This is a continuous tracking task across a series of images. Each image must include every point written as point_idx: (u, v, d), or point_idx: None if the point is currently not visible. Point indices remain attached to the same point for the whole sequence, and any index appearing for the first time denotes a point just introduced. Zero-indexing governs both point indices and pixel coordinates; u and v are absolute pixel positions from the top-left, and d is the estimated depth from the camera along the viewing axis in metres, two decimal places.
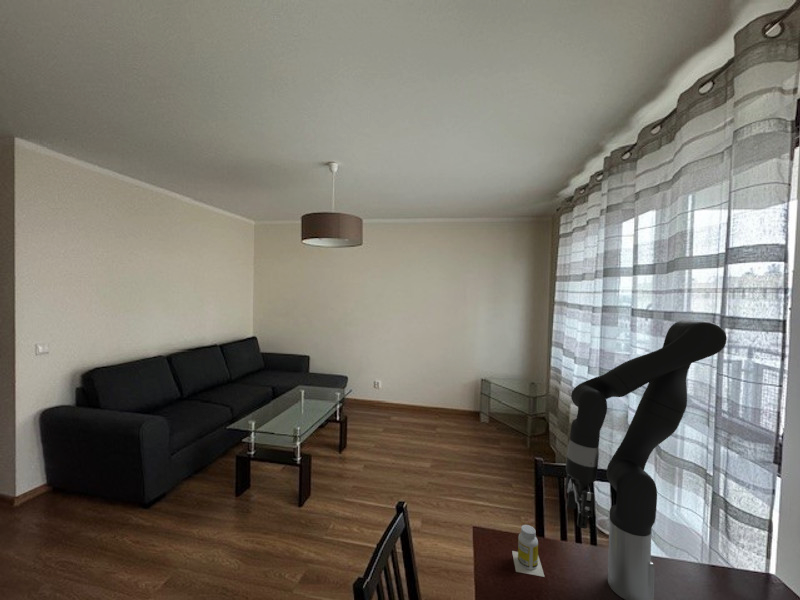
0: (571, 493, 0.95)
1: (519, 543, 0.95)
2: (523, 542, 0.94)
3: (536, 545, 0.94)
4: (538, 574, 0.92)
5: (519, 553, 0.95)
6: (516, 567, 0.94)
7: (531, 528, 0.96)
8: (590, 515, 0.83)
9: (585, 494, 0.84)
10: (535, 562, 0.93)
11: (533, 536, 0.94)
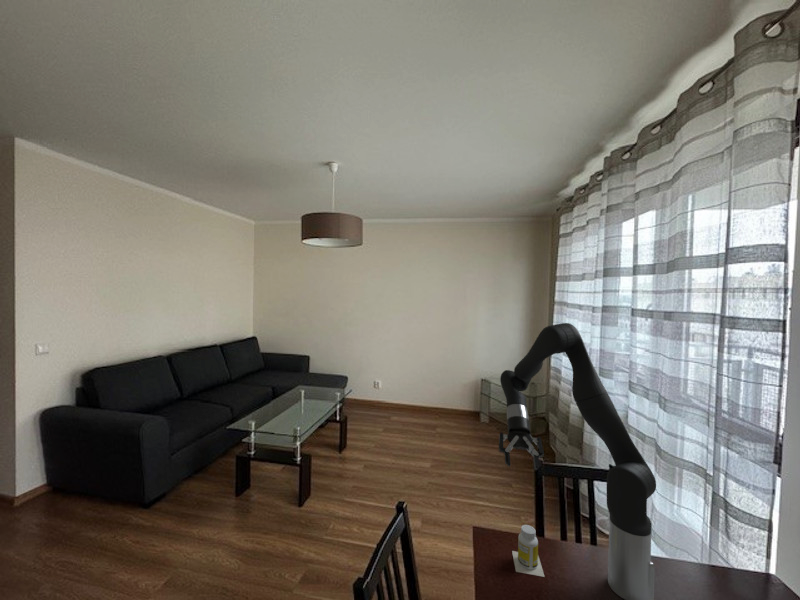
0: (533, 456, 1.10)
1: (519, 543, 0.95)
2: (523, 542, 0.94)
3: (536, 545, 0.94)
4: (538, 574, 0.92)
5: (519, 553, 0.95)
6: (516, 567, 0.94)
7: (531, 528, 0.96)
8: (499, 448, 1.11)
9: (499, 436, 1.16)
10: (535, 562, 0.93)
11: (533, 536, 0.94)
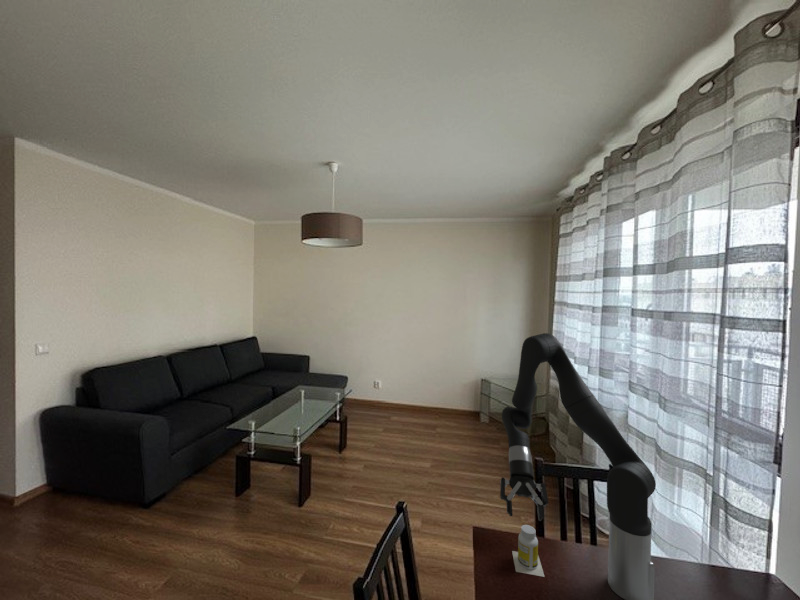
0: (537, 505, 1.03)
1: (519, 543, 0.95)
2: (523, 542, 0.94)
3: (536, 545, 0.94)
4: (538, 574, 0.92)
5: (519, 553, 0.95)
6: (516, 567, 0.94)
7: (531, 528, 0.96)
8: (501, 495, 1.05)
9: None
10: (535, 562, 0.93)
11: (533, 536, 0.94)
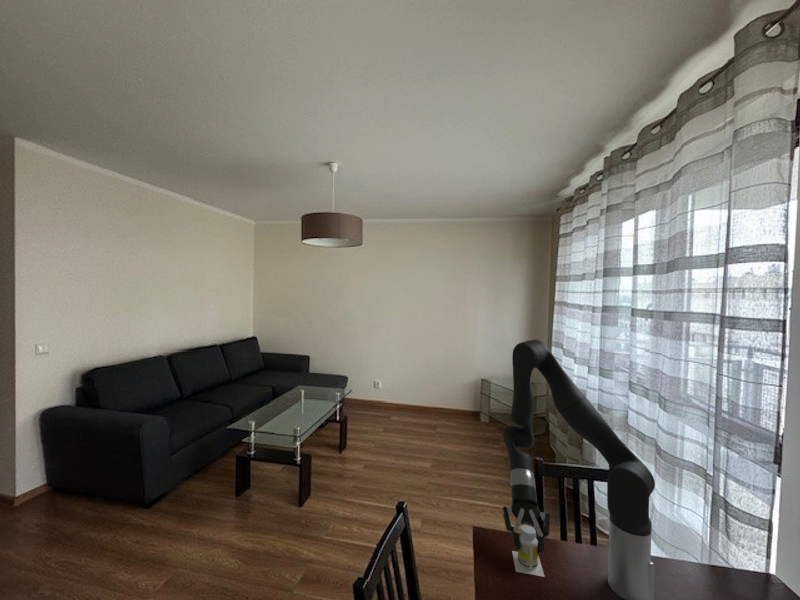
0: (537, 536, 0.96)
1: (519, 543, 0.95)
2: (523, 542, 0.94)
3: (536, 545, 0.94)
4: (538, 574, 0.92)
5: (519, 553, 0.95)
6: (516, 567, 0.94)
7: (531, 528, 0.96)
8: (507, 528, 0.98)
9: (502, 510, 1.03)
10: (535, 562, 0.93)
11: (533, 536, 0.94)
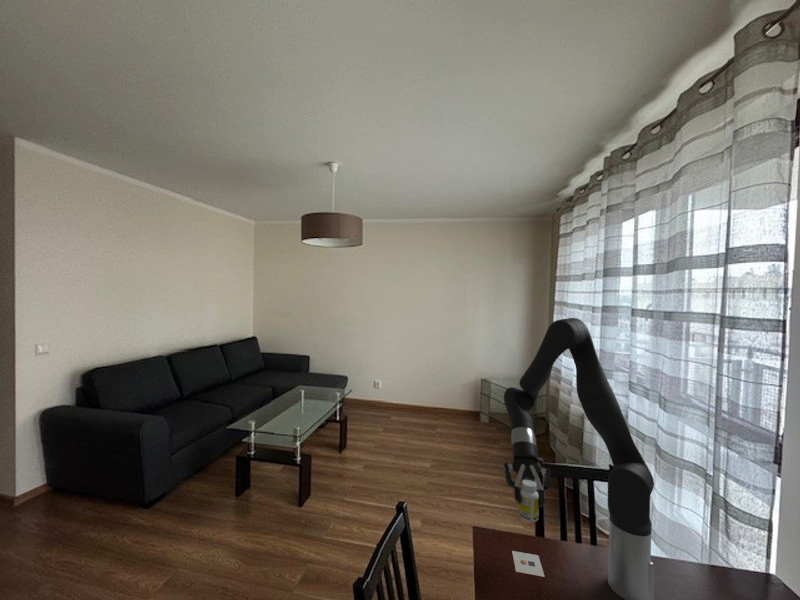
0: (538, 490, 0.97)
1: (520, 497, 0.96)
2: (524, 495, 0.94)
3: (537, 498, 0.94)
4: (538, 574, 0.92)
5: (520, 506, 0.96)
6: (516, 567, 0.94)
7: (532, 482, 0.96)
8: (508, 482, 0.98)
9: (503, 467, 1.03)
10: (536, 514, 0.94)
11: (534, 489, 0.94)
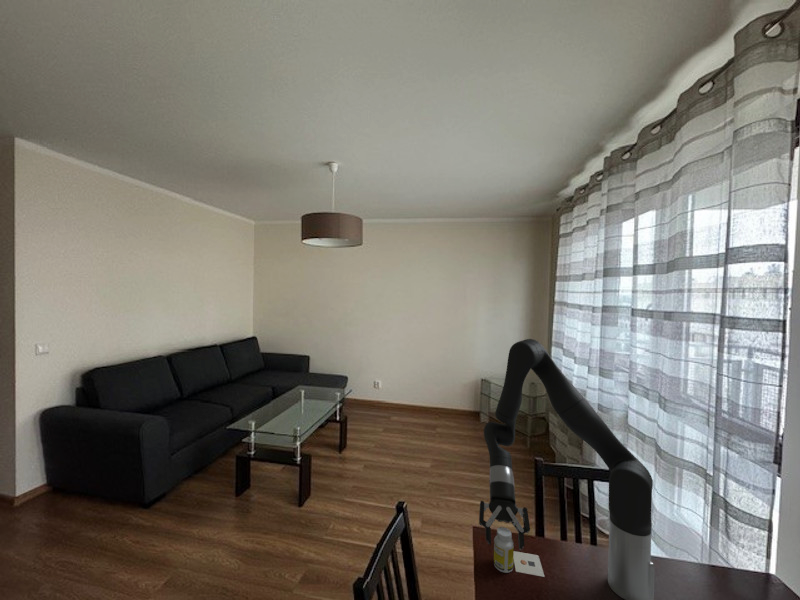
0: (518, 531, 0.95)
1: (495, 546, 0.94)
2: (498, 544, 0.93)
3: (511, 548, 0.92)
4: (538, 574, 0.92)
5: (495, 556, 0.94)
6: (516, 567, 0.94)
7: (507, 530, 0.95)
8: (479, 521, 0.97)
9: None
10: (510, 565, 0.92)
11: (508, 539, 0.93)
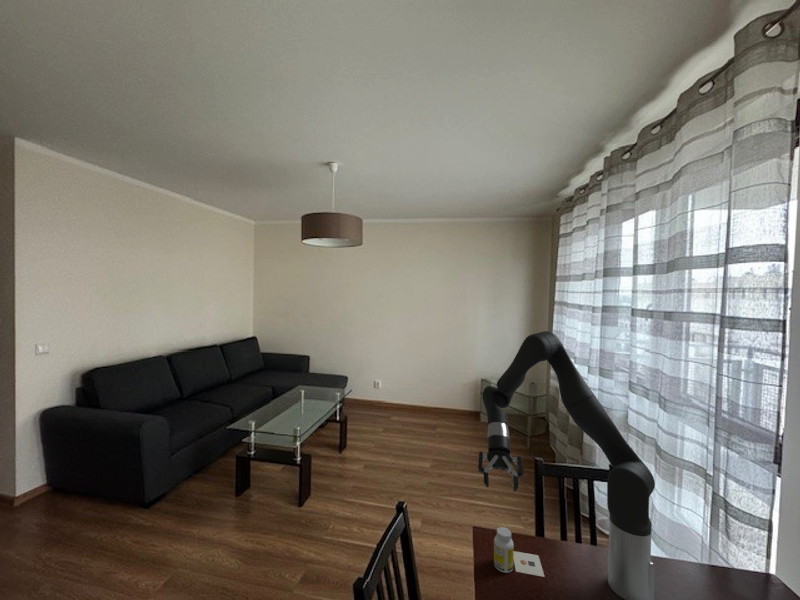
0: (513, 476, 1.08)
1: (494, 546, 0.94)
2: (498, 545, 0.93)
3: (511, 548, 0.92)
4: (538, 574, 0.92)
5: (494, 556, 0.94)
6: (516, 567, 0.94)
7: (507, 531, 0.95)
8: (478, 468, 1.09)
9: None
10: (510, 565, 0.92)
11: (508, 539, 0.93)
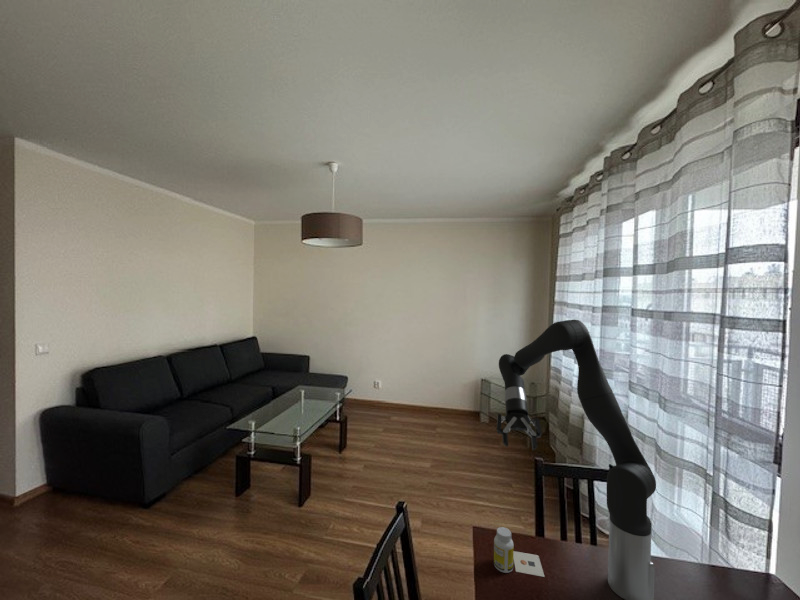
0: (531, 436, 1.10)
1: (494, 546, 0.94)
2: (498, 544, 0.93)
3: (511, 548, 0.92)
4: (538, 574, 0.92)
5: (494, 556, 0.94)
6: (516, 567, 0.94)
7: (507, 530, 0.95)
8: (497, 429, 1.12)
9: (497, 418, 1.17)
10: (510, 565, 0.92)
11: (508, 539, 0.93)
